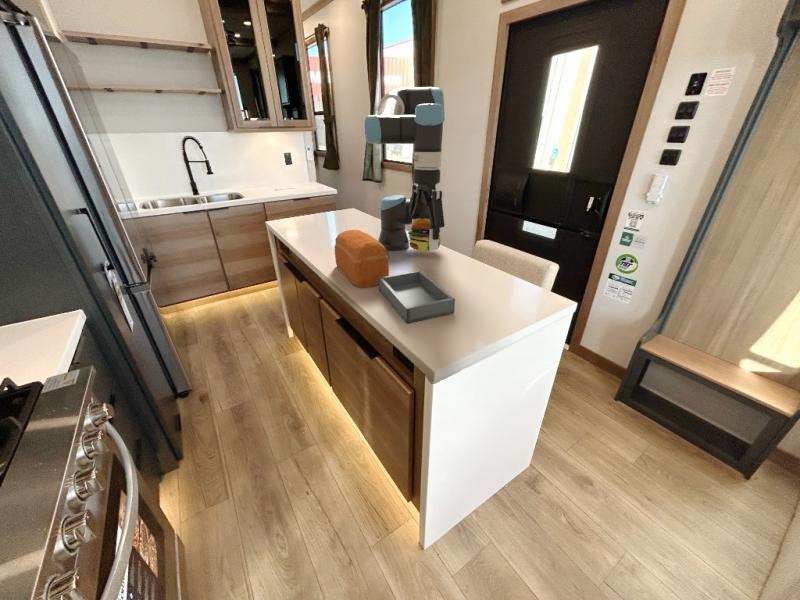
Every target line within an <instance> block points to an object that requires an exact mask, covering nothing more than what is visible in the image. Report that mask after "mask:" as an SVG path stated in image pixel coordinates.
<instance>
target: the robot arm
mask: <svg viewBox="0 0 800 600" xmlns="http://www.w3.org/2000/svg"><path fill="white" fill-rule="evenodd" d="M383 95H384V96H382V98H381V99H380V101H379V104H378V112H377V114H369V115H367V116H365V118H364V135H365V136H364V137H365V141H366V142H367V143H368V144H376V145H396V144H398V145H399V144H400V145H403V144H406V145H409V144H410V145H413V144H414V148H413V150H414V151H413V152H414V153H413V157H412V158H413V167H414V168H413V169H414V170H413V185H412V186H411V187H412V188H411V194H409V195H410V198H407V197H406V195H405V194H395V195H390V196H389V195H388V196H386V197H383V198H382V199H381V201H380V208H379V210H380V227H381V228H380V234H379V236H378V240H377V241H379V242H380V243H381V244H382V245H383V246H384V247H385V248H386V250H387V251H401V250H406V249H407V248H409V246H410V241H409V240H410V239H409V236H408V233H407V231H406V225H408V226H409V225H410V226H412V225H413V224H414V222H415V221H416V220H418V219H429V220H430V222H431V227H430V236H429V250H430V251H435V250H439V248H438V242H439V235H440V232H439V229H440V230H441V229H442V228H445V217H444V209H443V200H442V199H443V191H442V190H437V188H436V185H438V184H439V183H440V181H441V169H439V168H441V166H442V142H443V129H444V122H445V98H444V91H443V89H442V88H441V87H437V86H435V87H434V86H420V87H419V86H418V87H417V86H413V87H409V86H408V87H407V86H404V87H398V88H395V89H393V90H390V91H389V92H387V93H386V94H383ZM434 223H435V224H434ZM419 232H420V231H419Z"/></svg>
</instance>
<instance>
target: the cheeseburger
mask: <svg viewBox="0 0 800 600" xmlns="http://www.w3.org/2000/svg"><path fill="white" fill-rule="evenodd" d="M434 224H435V223H434ZM430 227H431V222H430V220H429V219H418V220H416V221H415V222H414V224H413V225H411V231H407V232H408V233H407V235H408V240H409V246H410V248H412V249H413V250H416V251H417V252H419V253H423V254H425V253H427V252H430V251H431V250H429V236H430ZM419 231H420V232H419ZM439 233H441V228H440V229H439ZM441 240H442V239H441V235H440V234H439V242H438V249H439V248H440V245H441V242H442V241H441Z"/></svg>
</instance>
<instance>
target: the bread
mask: <svg viewBox="0 0 800 600" xmlns="http://www.w3.org/2000/svg"><path fill="white" fill-rule="evenodd" d="M387 252H388V250H386V248H385V247H384V246H383V245H382V244H381V243H380V242H379V241H378V240H377V238H375V237H373V236H372V235H370V234H368V233H367V232H364V231H361V230H359V229H346V230H344V231H342V232H341V233H338V235H337V236H336V237H335V244H334V258H335V264H336V267H337V268H338V269H339V270H340V271H341V272H342V274H344V275H345V277H347V279H349V281H350V282H351V283H352V284H353V285H354V286H356V287H358V288H360V289H361V288H369V287H375V286H379V277H384V276H390V274H389V273H390V271H389V270H390V269H389V268H390V267H389V265H390V264H389V263H390V262H389V260H390V259H389V257H388V255H387Z"/></svg>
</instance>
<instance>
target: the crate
mask: <svg viewBox="0 0 800 600" xmlns="http://www.w3.org/2000/svg"><path fill="white" fill-rule="evenodd" d="M378 290H379V292H380V293H381V294H382V296H383V297H384V298H385V300H387V302H388V303H389V304H390V306H392V308H393V309H394V310H395V311H396V313H397V314H398V315H399V316H400V318H401V319H402V320H403V322H404V323H405V324H406V325H408V324H412V323H417V322H420V321H425V320H429V319H434V318H438V317H443V316H447V315H451V314H455V305H456V298H455V297H453V296H452V295H451V294H450V293H449V292H447V291H446V290H445V289H444V288H443V287H442V286H440V285H439V284H438V283H436V282H435V281H434V280H432V279H431V278H430V277H429V276H428V275H427V274H426V273H424V272H423V271H422V270H416V271H409V272H403V273H397V274H391V275H390V274H389V276H384V277H379V285H378Z"/></svg>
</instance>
